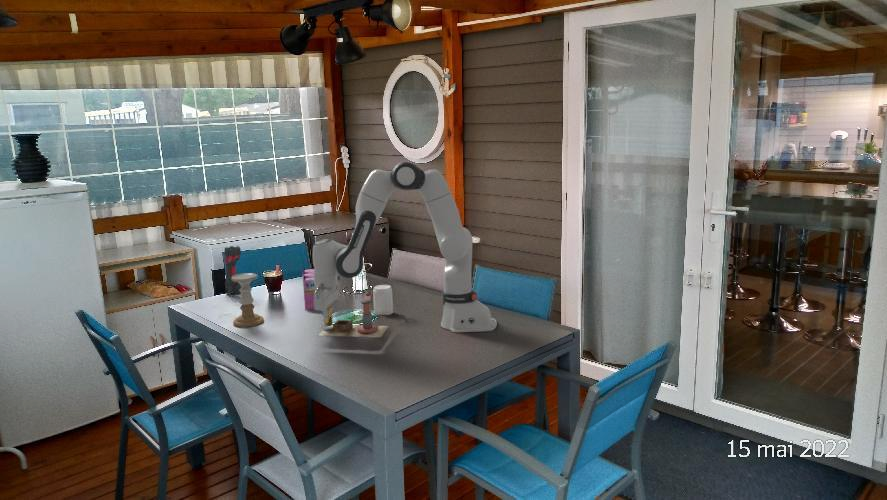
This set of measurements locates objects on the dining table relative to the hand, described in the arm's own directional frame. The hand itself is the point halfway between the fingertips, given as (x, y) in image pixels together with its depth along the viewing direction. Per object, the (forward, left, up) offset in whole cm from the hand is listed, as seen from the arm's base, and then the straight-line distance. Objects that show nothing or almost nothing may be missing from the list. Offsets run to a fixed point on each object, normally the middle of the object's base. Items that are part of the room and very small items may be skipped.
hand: (328, 314), depth 252 cm
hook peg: (0, 0, -4) cm, 4 cm away
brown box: (-6, 0, -6) cm, 8 cm away
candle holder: (+38, -9, -8) cm, 40 cm away
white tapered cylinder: (-16, -25, -8) cm, 31 cm away
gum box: (+21, -40, -8) cm, 46 cm away
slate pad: (0, 0, -6) cm, 6 cm away
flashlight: (+65, -52, -8) cm, 84 cm away
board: (-10, +1, -7) cm, 13 cm away
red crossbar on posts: (-15, -3, -6) cm, 17 cm away
